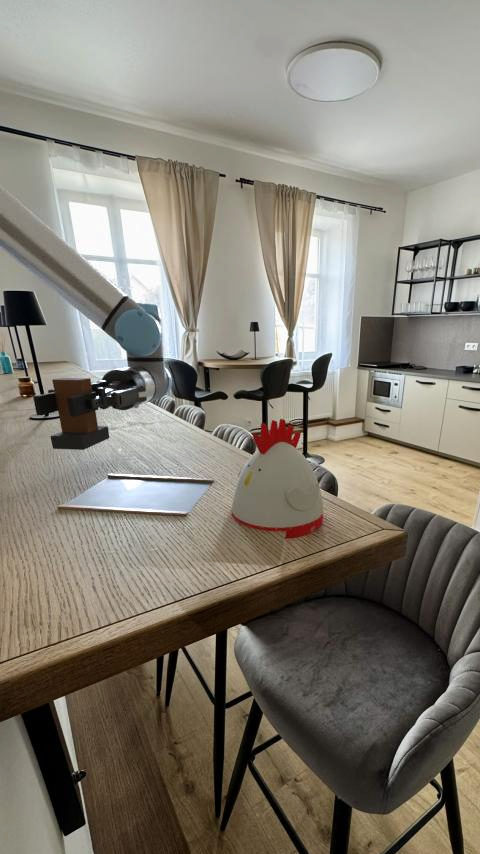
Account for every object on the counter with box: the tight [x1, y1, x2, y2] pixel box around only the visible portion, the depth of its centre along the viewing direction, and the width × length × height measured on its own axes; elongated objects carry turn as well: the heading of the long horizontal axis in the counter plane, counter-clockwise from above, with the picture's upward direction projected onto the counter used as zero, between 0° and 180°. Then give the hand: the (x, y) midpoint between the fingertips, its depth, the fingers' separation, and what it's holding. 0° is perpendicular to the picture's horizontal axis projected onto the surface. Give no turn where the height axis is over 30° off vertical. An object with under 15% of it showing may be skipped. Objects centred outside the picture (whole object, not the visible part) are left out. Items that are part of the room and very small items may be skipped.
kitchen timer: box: [231, 418, 324, 539], centre depth 60 cm, size 14×14×15 cm
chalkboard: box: [57, 473, 215, 517], centre depth 69 cm, size 20×16×2 cm
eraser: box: [50, 377, 110, 451], centre depth 64 cm, size 8×5×10 cm, turn 174°
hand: (54, 406), depth 59 cm, fingers closed on eraser, 4 cm apart
